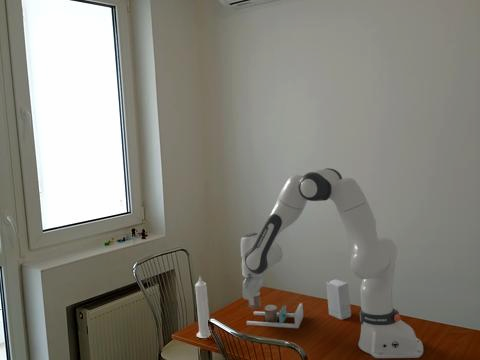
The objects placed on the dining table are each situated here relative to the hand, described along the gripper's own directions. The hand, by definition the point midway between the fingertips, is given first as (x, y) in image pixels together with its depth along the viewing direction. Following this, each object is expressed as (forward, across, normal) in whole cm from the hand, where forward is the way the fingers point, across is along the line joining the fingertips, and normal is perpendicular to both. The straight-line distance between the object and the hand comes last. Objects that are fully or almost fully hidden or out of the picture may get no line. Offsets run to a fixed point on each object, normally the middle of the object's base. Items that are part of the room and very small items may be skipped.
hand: (254, 301), depth 206 cm
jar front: (+8, 0, -7) cm, 11 cm away
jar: (+2, 0, 0) cm, 2 cm away
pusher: (+8, 0, -14) cm, 16 cm away
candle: (+8, -18, +16) cm, 26 cm away
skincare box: (+8, +9, -35) cm, 37 cm away
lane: (+8, 0, -9) cm, 12 cm away
